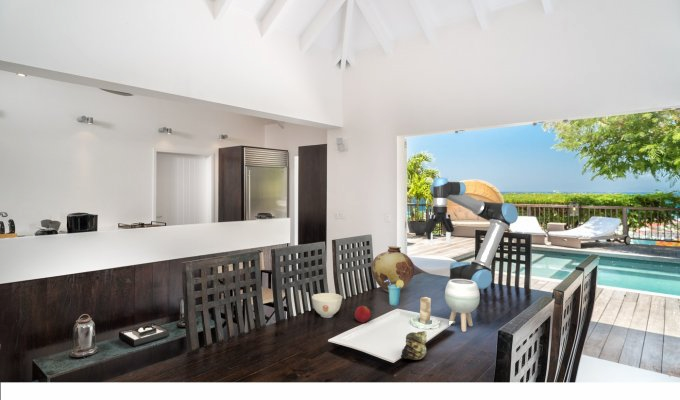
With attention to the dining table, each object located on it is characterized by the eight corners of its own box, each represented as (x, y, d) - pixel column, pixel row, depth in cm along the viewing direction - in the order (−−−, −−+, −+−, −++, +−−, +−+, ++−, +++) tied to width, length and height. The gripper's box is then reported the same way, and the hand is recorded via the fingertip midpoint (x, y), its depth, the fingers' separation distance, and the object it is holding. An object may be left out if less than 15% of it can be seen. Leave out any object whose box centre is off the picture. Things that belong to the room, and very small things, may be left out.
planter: (479, 324, 194) (479, 279, 193) (479, 335, 179) (480, 286, 178) (445, 320, 199) (446, 276, 199) (442, 331, 184) (443, 283, 183)
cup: (388, 307, 220) (388, 281, 220) (379, 304, 226) (379, 278, 226) (406, 304, 228) (406, 278, 227) (397, 301, 234) (397, 276, 234)
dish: (425, 318, 203) (425, 313, 203) (445, 326, 191) (445, 320, 191) (404, 322, 195) (404, 317, 195) (424, 331, 183) (424, 325, 183)
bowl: (347, 313, 208) (347, 295, 208) (333, 322, 194) (334, 302, 194) (320, 309, 215) (320, 291, 215) (305, 318, 200) (306, 298, 200)
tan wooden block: (425, 320, 195) (425, 296, 195) (430, 322, 192) (430, 298, 192) (420, 321, 194) (420, 297, 193) (425, 323, 191) (425, 299, 190)
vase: (384, 285, 274) (385, 242, 274) (420, 291, 258) (421, 246, 258) (362, 293, 251) (363, 246, 251) (401, 300, 235) (401, 251, 235)
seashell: (395, 352, 158) (395, 328, 158) (423, 352, 159) (423, 327, 159) (401, 364, 148) (402, 337, 147) (431, 363, 149) (431, 337, 148)
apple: (360, 325, 190) (360, 309, 190) (352, 320, 197) (352, 304, 197) (373, 323, 194) (373, 307, 193) (364, 318, 201) (365, 303, 201)
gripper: (450, 205, 224) (450, 242, 224) (418, 205, 211) (417, 244, 212) (461, 206, 218) (460, 244, 218) (428, 206, 205) (427, 246, 205)
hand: (439, 244), depth 215 cm, fingers open, 13 cm apart
